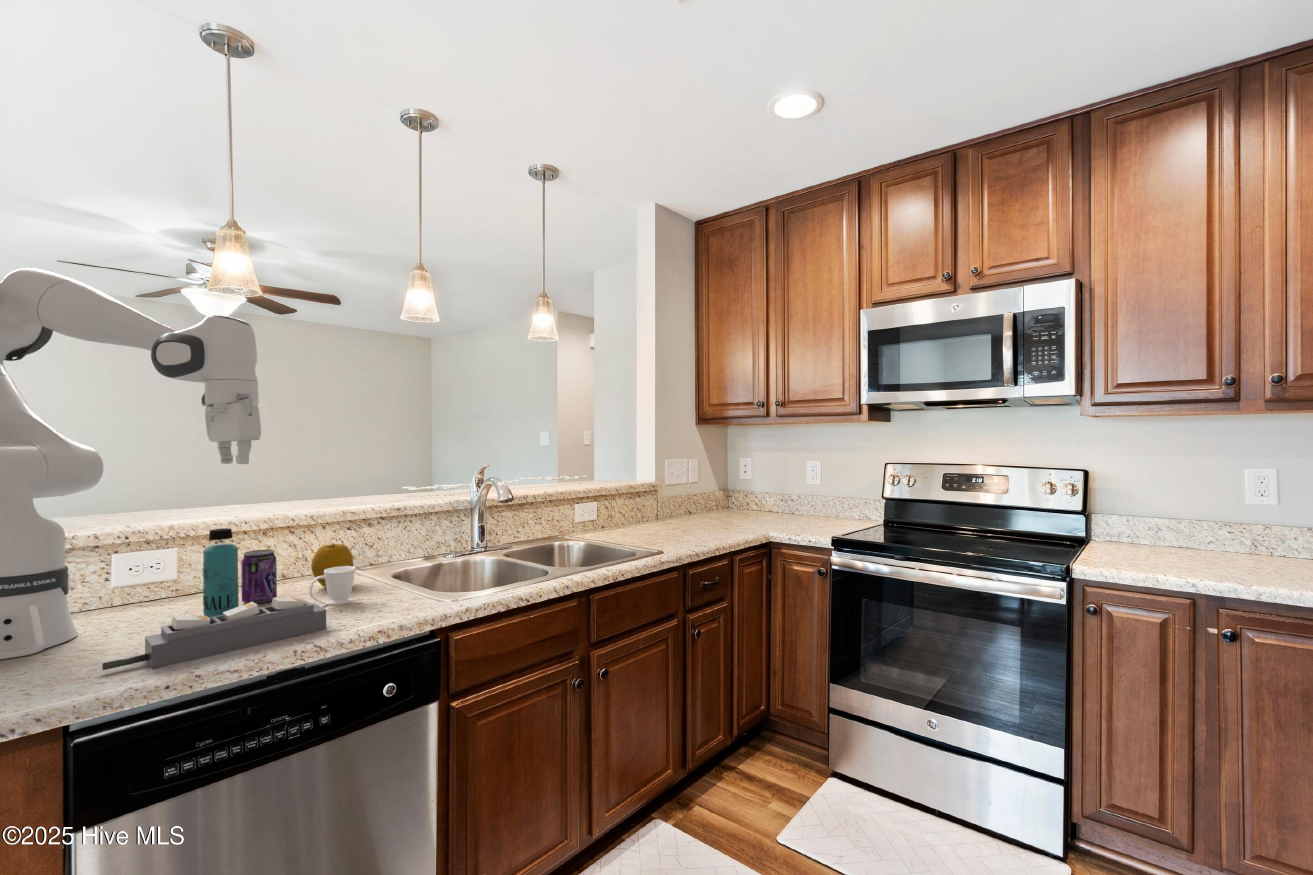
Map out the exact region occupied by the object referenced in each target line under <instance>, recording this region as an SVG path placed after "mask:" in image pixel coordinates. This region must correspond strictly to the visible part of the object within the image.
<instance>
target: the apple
mask: <svg viewBox="0 0 1313 875" xmlns="http://www.w3.org/2000/svg"><path fill="white" fill-rule="evenodd" d="M353 557H354V556H353V553H352V551H351V550H350V548H348V546H347V545H345V544H341V543H334V542H333V543H331V544H330V543H329V544H325V545H322V546H320V547H319V548H318V549H317V551H316V552H315V553H314V555H313V558H312V560H311V563H310V565H311V567H310V568H311V571H312V574H313V576H314V579H315V578H316V577H318V576H324V571H325V569H329V568H333V567H341V566H351V567H354V558H353ZM316 582H318V584H320V585H321V586H322V587H325V588H326V582H325V579H317V580H316Z"/></svg>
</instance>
